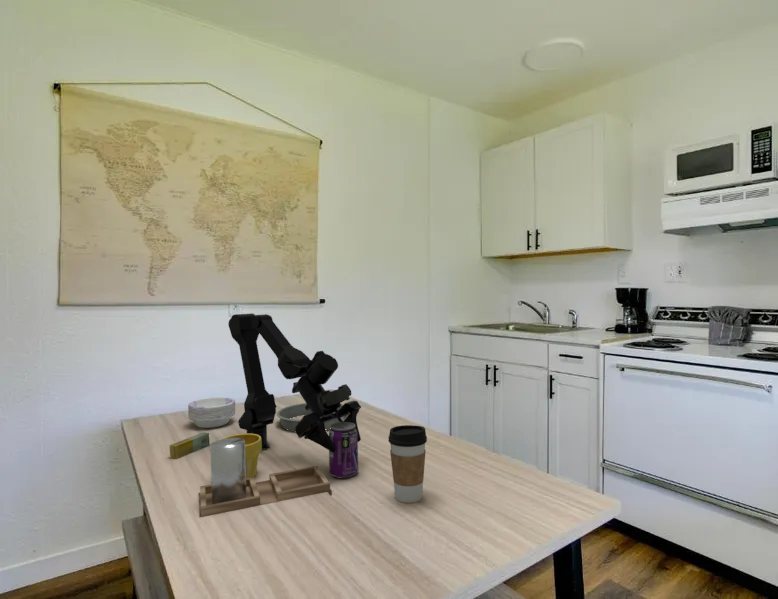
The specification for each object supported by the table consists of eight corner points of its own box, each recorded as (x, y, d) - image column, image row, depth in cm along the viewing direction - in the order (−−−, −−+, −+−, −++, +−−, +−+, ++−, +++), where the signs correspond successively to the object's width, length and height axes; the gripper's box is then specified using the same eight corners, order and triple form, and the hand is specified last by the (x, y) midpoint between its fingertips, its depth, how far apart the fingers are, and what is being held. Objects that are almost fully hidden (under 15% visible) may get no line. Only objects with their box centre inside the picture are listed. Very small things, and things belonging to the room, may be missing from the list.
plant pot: (209, 481, 109) (208, 441, 108) (247, 468, 116) (246, 430, 116) (232, 493, 102) (231, 450, 102) (271, 478, 110) (270, 438, 110)
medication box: (203, 445, 136) (203, 431, 136) (210, 445, 134) (209, 432, 134) (169, 459, 125) (168, 444, 125) (176, 460, 124) (175, 445, 123)
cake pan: (362, 418, 160) (362, 406, 160) (318, 438, 139) (317, 424, 139) (309, 410, 173) (309, 398, 173) (261, 427, 152) (260, 414, 152)
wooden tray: (198, 497, 100) (198, 486, 100) (318, 475, 111) (317, 465, 111) (199, 522, 89) (199, 509, 89) (331, 495, 100) (331, 484, 100)
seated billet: (211, 495, 99) (209, 440, 99) (244, 489, 102) (243, 436, 101) (212, 509, 92) (210, 450, 92) (248, 502, 95) (246, 445, 95)
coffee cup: (416, 509, 93) (415, 436, 92) (382, 499, 97) (380, 430, 97) (434, 493, 100) (433, 425, 100) (401, 485, 104) (400, 420, 104)
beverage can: (353, 480, 107) (352, 430, 107) (325, 479, 109) (324, 429, 108) (361, 469, 114) (360, 422, 114) (334, 467, 116) (333, 420, 115)
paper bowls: (245, 421, 159) (244, 399, 158) (207, 433, 146) (206, 409, 146) (217, 416, 167) (216, 394, 167) (179, 427, 154) (178, 403, 154)
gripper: (302, 382, 106) (337, 437, 99) (354, 370, 121) (388, 417, 114) (281, 410, 111) (313, 465, 104) (334, 395, 126) (365, 442, 119)
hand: (347, 446), depth 110 cm, fingers open, 9 cm apart
